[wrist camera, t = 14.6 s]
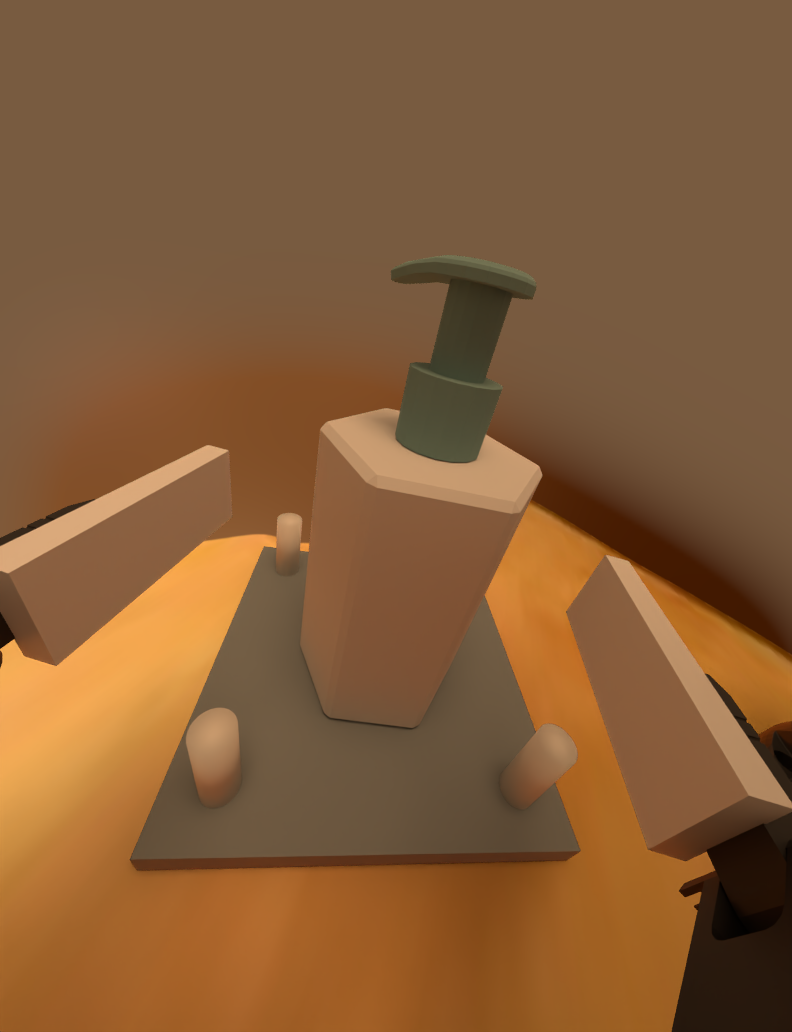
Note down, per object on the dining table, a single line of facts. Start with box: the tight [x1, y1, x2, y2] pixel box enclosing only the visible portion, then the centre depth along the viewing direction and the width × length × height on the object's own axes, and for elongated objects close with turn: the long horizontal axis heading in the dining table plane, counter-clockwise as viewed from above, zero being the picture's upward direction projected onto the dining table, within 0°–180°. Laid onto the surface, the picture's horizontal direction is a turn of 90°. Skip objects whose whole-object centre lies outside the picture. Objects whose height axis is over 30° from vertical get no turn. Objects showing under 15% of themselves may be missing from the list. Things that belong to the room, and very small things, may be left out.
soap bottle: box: [300, 255, 542, 728], centre depth 18 cm, size 10×9×22 cm
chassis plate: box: [130, 513, 580, 870], centre depth 23 cm, size 20×20×6 cm
